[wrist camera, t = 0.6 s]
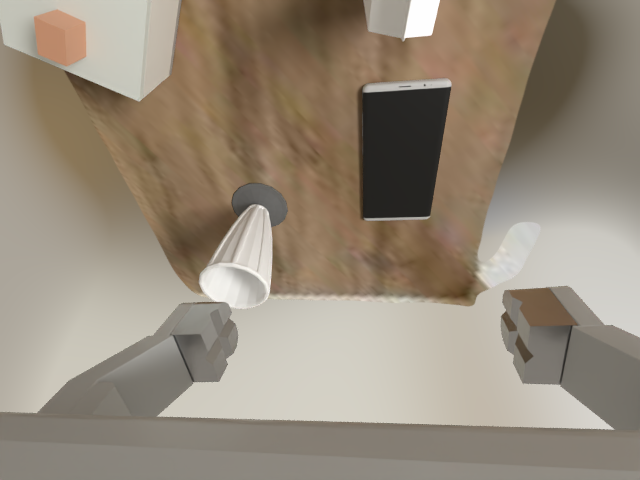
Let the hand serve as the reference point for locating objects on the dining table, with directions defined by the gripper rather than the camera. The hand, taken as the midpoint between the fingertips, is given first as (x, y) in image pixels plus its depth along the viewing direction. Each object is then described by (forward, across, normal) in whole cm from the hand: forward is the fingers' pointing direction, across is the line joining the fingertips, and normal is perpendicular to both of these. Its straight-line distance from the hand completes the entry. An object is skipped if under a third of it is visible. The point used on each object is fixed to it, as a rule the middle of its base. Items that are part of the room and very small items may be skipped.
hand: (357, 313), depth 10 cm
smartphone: (+55, -4, +9) cm, 56 cm away
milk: (+47, -4, -17) cm, 50 cm away
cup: (+56, +24, +15) cm, 63 cm away
